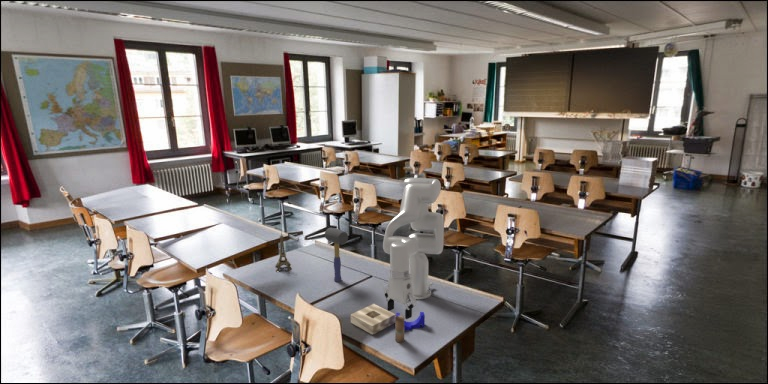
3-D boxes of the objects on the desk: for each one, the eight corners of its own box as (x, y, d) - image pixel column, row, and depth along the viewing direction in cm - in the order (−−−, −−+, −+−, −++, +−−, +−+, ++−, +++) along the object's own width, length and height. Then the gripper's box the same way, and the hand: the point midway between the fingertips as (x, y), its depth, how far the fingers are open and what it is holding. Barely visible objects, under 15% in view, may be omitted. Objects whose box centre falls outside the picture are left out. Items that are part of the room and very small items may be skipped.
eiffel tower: (273, 267, 248) (271, 227, 243) (292, 265, 251) (289, 225, 246) (274, 274, 238) (272, 232, 233) (293, 271, 241) (291, 230, 236)
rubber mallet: (350, 283, 224) (349, 229, 218) (339, 287, 219) (338, 233, 213) (335, 277, 233) (334, 225, 227) (325, 281, 228) (323, 228, 221)
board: (373, 311, 193) (373, 303, 192) (395, 322, 184) (395, 314, 183) (350, 322, 184) (350, 314, 183) (372, 334, 174) (372, 326, 173)
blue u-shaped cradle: (397, 331, 177) (396, 318, 176) (396, 325, 181) (396, 312, 180) (425, 330, 178) (425, 317, 176) (423, 324, 182) (423, 311, 181)
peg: (399, 336, 172) (399, 314, 170) (406, 340, 170) (406, 317, 168) (393, 340, 170) (393, 317, 168) (400, 343, 167) (400, 321, 165)
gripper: (422, 276, 160) (422, 318, 163) (390, 265, 172) (390, 304, 175) (409, 282, 155) (409, 324, 158) (377, 270, 167) (377, 309, 170)
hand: (399, 313), depth 167 cm, fingers open, 9 cm apart
